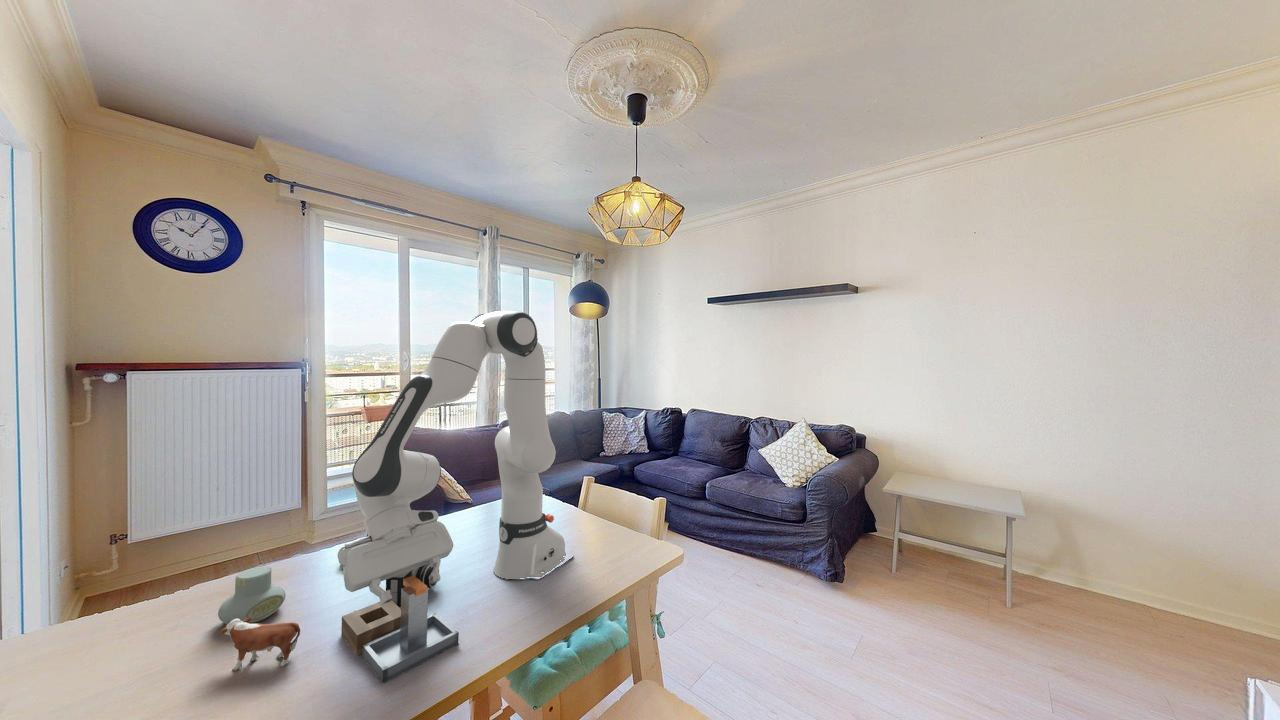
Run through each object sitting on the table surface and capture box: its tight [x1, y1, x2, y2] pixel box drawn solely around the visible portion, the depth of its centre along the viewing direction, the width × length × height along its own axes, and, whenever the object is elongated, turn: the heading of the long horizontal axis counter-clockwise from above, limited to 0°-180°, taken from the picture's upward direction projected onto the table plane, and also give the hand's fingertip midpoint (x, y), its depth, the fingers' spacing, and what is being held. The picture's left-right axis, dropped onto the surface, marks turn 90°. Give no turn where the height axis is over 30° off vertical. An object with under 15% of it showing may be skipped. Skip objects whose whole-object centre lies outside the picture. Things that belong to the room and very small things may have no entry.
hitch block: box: [340, 600, 401, 656], centre depth 88 cm, size 9×9×4 cm
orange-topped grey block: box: [400, 575, 429, 655], centre depth 84 cm, size 4×6×13 cm, turn 51°
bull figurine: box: [220, 618, 301, 672], centre depth 79 cm, size 4×13×8 cm, turn 95°
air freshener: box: [217, 565, 286, 625], centre depth 93 cm, size 11×8×10 cm
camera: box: [385, 563, 440, 608], centre depth 104 cm, size 14×9×10 cm, turn 170°
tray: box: [361, 612, 460, 685], centre depth 84 cm, size 14×10×2 cm
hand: (412, 591), depth 85 cm, fingers open, 8 cm apart
